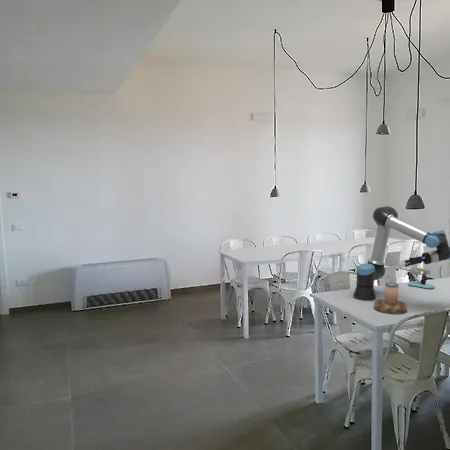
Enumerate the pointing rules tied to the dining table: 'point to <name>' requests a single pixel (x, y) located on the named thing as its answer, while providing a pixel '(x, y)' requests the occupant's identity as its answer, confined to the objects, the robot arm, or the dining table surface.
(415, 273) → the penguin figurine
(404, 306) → the walnut pedestal
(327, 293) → the dining table surface
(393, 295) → the terracotta jar
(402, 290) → the dining table surface
